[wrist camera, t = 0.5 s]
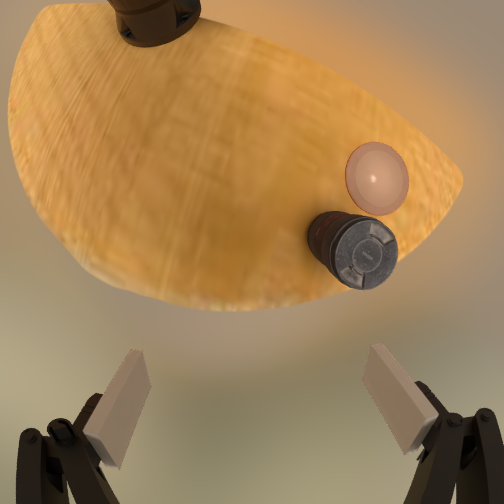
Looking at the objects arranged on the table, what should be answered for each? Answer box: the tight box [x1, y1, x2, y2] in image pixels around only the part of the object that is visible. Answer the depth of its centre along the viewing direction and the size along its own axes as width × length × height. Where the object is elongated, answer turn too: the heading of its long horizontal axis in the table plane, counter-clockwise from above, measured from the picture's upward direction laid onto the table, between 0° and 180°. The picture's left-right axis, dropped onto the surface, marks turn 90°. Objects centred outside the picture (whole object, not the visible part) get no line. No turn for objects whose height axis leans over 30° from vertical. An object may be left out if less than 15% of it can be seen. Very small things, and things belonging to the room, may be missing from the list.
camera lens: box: [308, 211, 398, 290], centre depth 34 cm, size 8×8×15 cm
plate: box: [345, 142, 409, 215], centre depth 39 cm, size 12×12×1 cm
